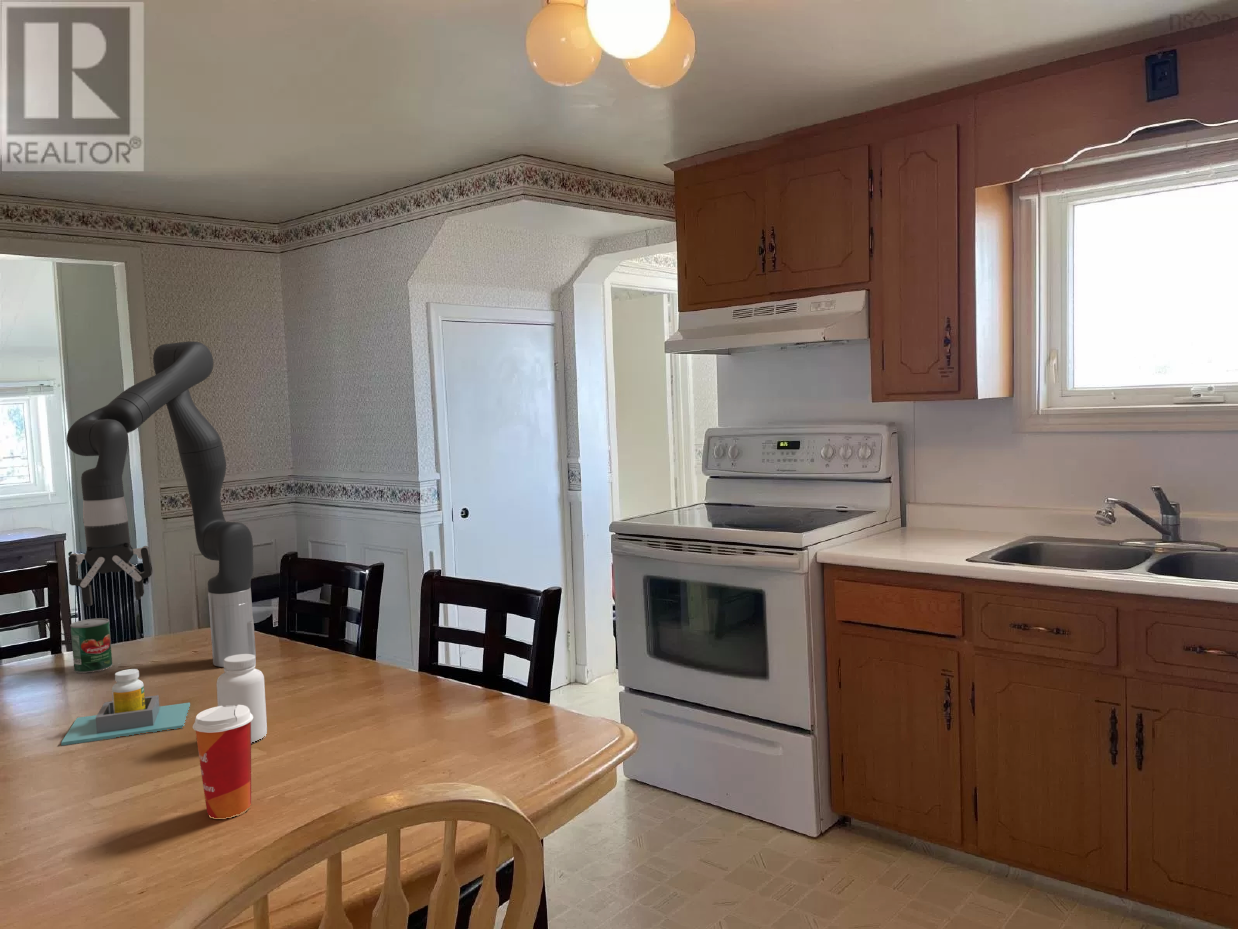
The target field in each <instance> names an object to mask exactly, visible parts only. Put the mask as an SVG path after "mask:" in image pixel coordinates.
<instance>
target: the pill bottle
mask: <svg viewBox="0 0 1238 929" xmlns="http://www.w3.org/2000/svg"><path fill="white" fill-rule="evenodd" d="M256 658H257V657H256ZM256 658H255V656H254V655H252V654H238V655H233V656H229V657H227V658H225V659H224V667H223V673H221V674H220V675H219V676H218V678H217V681H216V693H217V694H216V695H217V696H216V697H217V706H223V707H226V705H235V706H238V705H244V706H247V707H248V708H249V710H250V713H251V714H252V715H253V719H252V721H251V744H253V743H252V742H254V743H256V742H255V741H257V740H259V739H261V740H263V739H264V738H265V737H266V736H267V735H266V734H268V726H267V725H268V724H267V722H268V721H267V720H268V719H267V705H266V690H265V687H266V686H265V675H264V674H263V671H261V670H260V669H258V668H256V663H257V662H256ZM264 736H265V737H264ZM263 737H264V738H263ZM262 738H263V739H262ZM259 741H260V740H259ZM257 742H258V741H257Z"/></svg>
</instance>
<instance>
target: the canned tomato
mask: <svg viewBox="0 0 1238 929" xmlns="http://www.w3.org/2000/svg"><path fill="white" fill-rule="evenodd" d="M69 627H70V635H71V647H72V658H73V659H72V660H73V669H74V670H73V671H75V672H74V673H76V672H78V673H77V674H87V673H86V672H92V673H94V672H93V671H98V672H101V671H100V670H102V671H104V670H103V669H106V668H108V667H110V668H112V667H113V666H114V664H113V657H112V656H113V654H112V644H111V640H112V639H111V630H110V619H108V618H102V617H99V618H89V619H83V620H79V621H75V622H73V623H71V624H70V626H69ZM112 665H113V666H112ZM111 666H112V667H111ZM108 669H109V668H108ZM106 670H107V669H106Z"/></svg>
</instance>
